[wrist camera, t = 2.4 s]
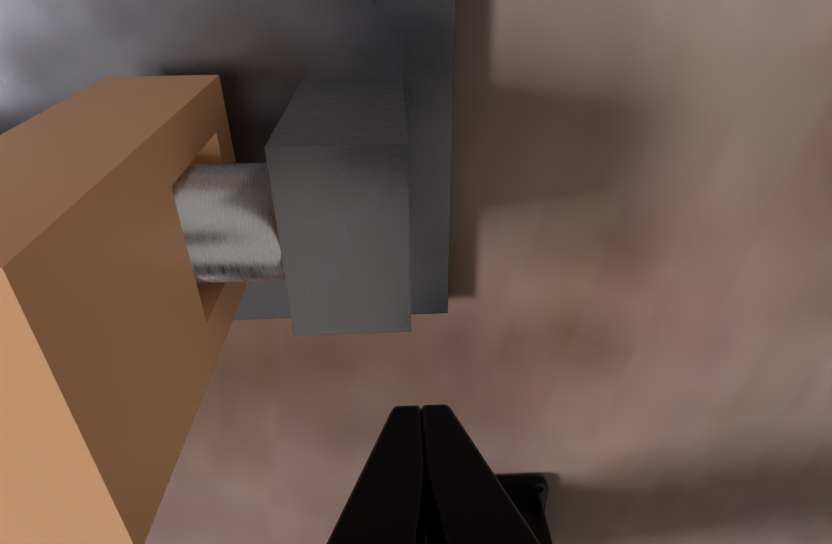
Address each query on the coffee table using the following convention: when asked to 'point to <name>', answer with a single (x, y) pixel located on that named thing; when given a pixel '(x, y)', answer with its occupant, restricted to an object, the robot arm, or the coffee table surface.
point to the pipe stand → (283, 140)
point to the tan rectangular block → (103, 306)
